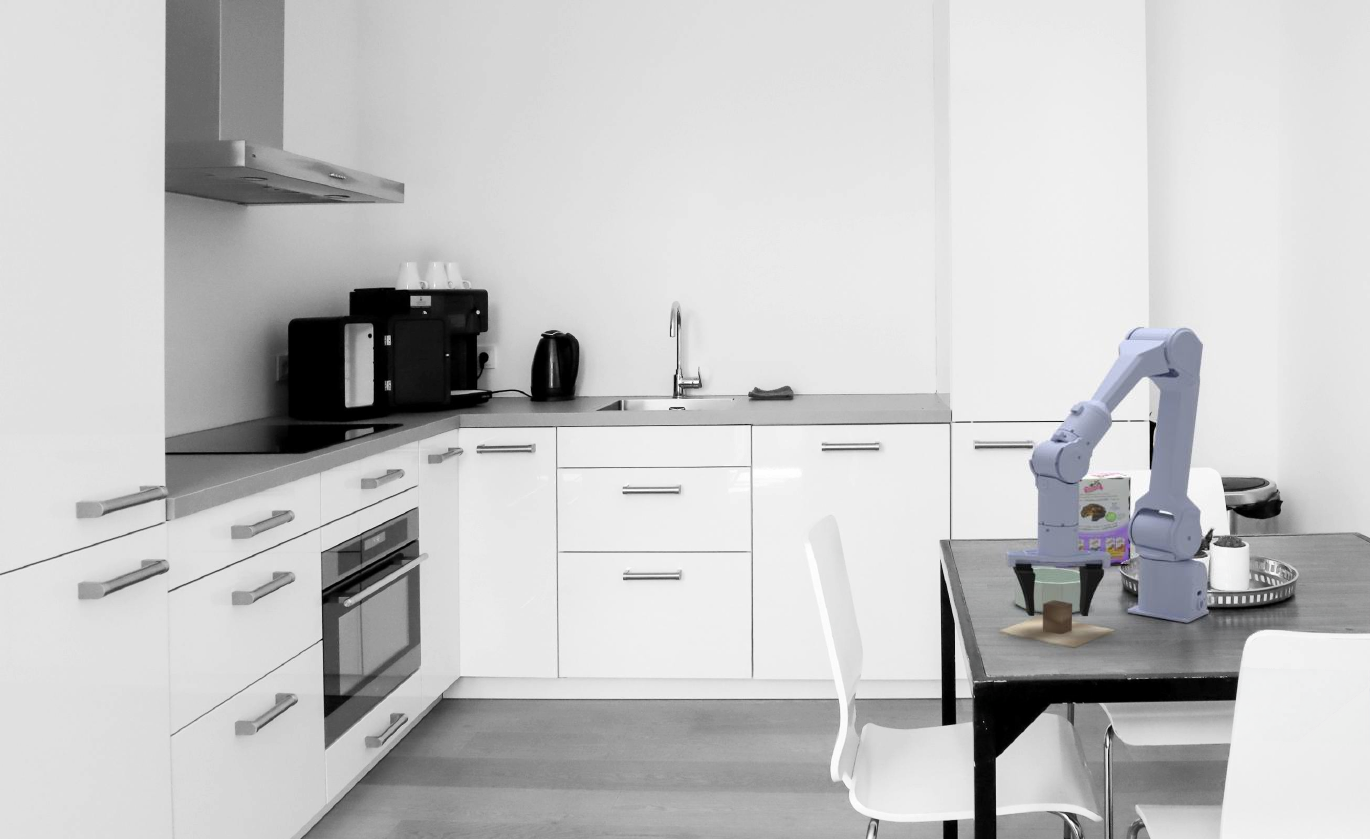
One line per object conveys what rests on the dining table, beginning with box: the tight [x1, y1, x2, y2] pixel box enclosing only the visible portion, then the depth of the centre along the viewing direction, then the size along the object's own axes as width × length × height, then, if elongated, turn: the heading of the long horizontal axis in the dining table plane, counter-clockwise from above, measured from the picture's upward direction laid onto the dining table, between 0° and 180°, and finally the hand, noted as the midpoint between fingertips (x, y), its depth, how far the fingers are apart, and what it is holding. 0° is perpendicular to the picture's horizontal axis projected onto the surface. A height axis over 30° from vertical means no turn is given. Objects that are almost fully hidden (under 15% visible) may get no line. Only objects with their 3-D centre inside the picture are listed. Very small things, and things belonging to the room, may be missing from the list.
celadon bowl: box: [1014, 566, 1080, 614], centre depth 187 cm, size 11×11×5 cm
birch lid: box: [998, 600, 1116, 649], centre depth 172 cm, size 12×12×5 cm
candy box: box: [1054, 472, 1132, 568], centre depth 216 cm, size 14×6×16 cm, turn 92°
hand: (1057, 614), depth 172 cm, fingers open, 7 cm apart
